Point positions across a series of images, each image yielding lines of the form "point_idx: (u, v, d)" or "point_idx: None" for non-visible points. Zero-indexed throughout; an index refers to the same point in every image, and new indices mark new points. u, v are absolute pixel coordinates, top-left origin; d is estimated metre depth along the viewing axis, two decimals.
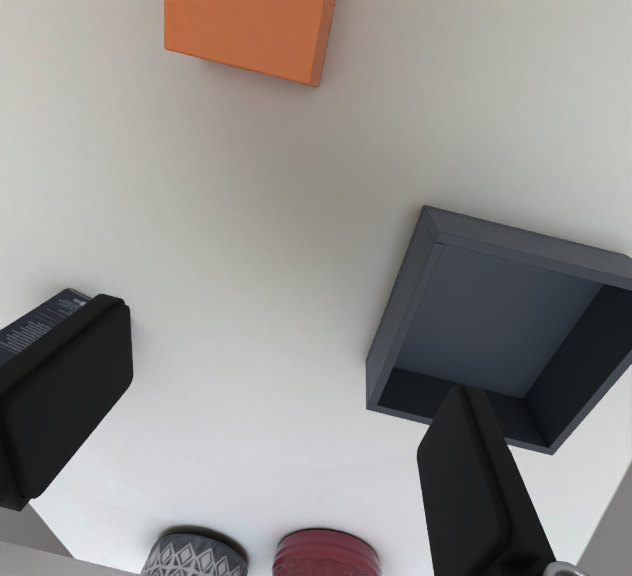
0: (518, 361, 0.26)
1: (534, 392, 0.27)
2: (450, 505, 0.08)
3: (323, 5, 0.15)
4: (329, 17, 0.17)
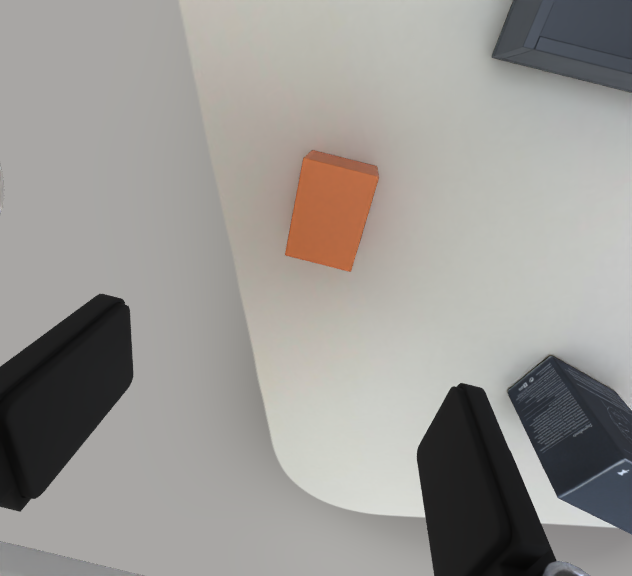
0: None
1: None
2: (450, 505, 0.08)
3: (333, 165, 0.23)
4: (336, 158, 0.25)
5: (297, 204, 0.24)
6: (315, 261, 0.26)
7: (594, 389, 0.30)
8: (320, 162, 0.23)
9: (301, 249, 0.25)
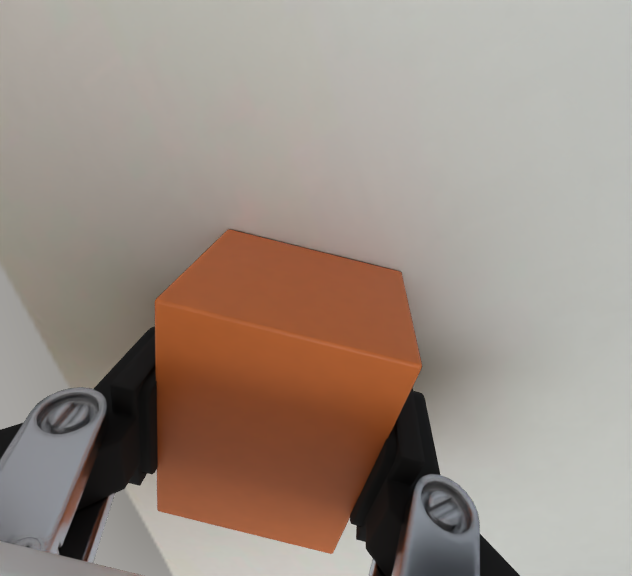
0: None
1: None
2: None
3: (262, 324, 0.06)
4: (288, 262, 0.09)
5: (163, 417, 0.08)
6: (238, 529, 0.10)
7: None
8: (215, 315, 0.06)
9: (197, 505, 0.09)
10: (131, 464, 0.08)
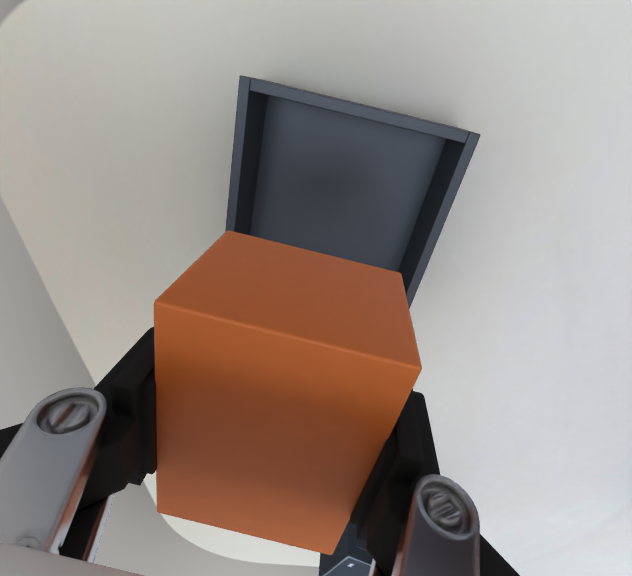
0: (389, 155, 0.24)
1: None
2: None
3: (261, 326, 0.06)
4: (287, 263, 0.09)
5: (163, 418, 0.08)
6: (238, 530, 0.10)
7: None
8: (214, 317, 0.06)
9: (196, 507, 0.09)
10: (131, 464, 0.08)
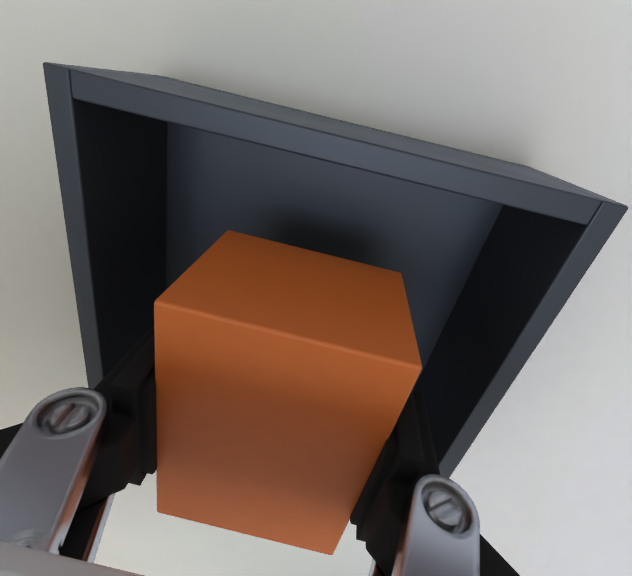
0: (399, 216, 0.13)
1: None
2: None
3: (261, 325, 0.06)
4: (287, 263, 0.09)
5: (163, 418, 0.08)
6: (238, 530, 0.10)
7: None
8: (214, 317, 0.06)
9: (196, 507, 0.09)
10: (130, 464, 0.08)
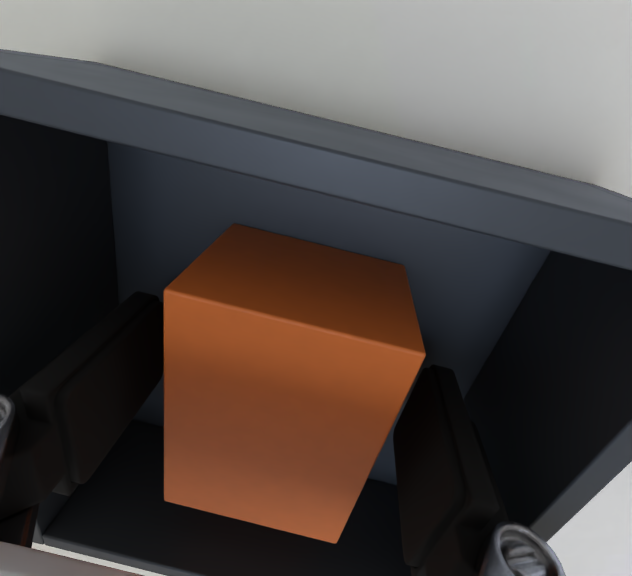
0: (417, 249, 0.10)
1: None
2: (417, 477, 0.08)
3: (268, 313, 0.07)
4: (292, 255, 0.09)
5: (171, 406, 0.08)
6: (244, 519, 0.10)
7: None
8: (222, 305, 0.06)
9: (203, 495, 0.09)
10: (51, 474, 0.07)
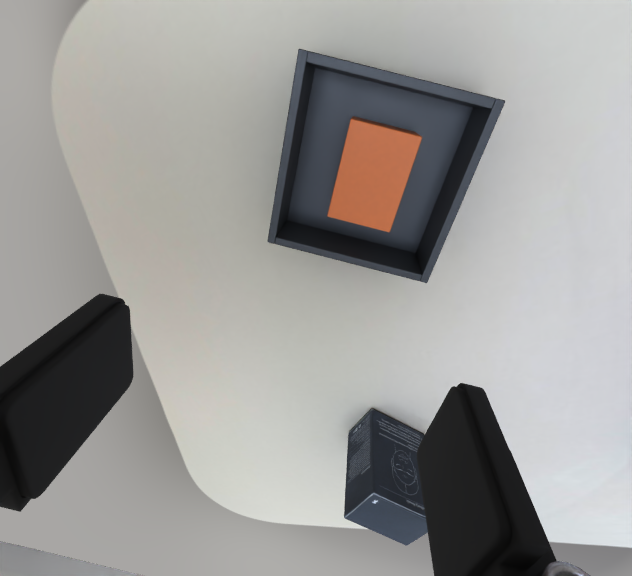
0: (420, 125, 0.27)
1: (457, 103, 0.25)
2: (450, 505, 0.08)
3: (379, 126, 0.24)
4: (377, 123, 0.26)
5: (342, 165, 0.25)
6: (356, 222, 0.27)
7: (396, 436, 0.40)
8: (366, 123, 0.24)
9: (343, 210, 0.27)
10: None
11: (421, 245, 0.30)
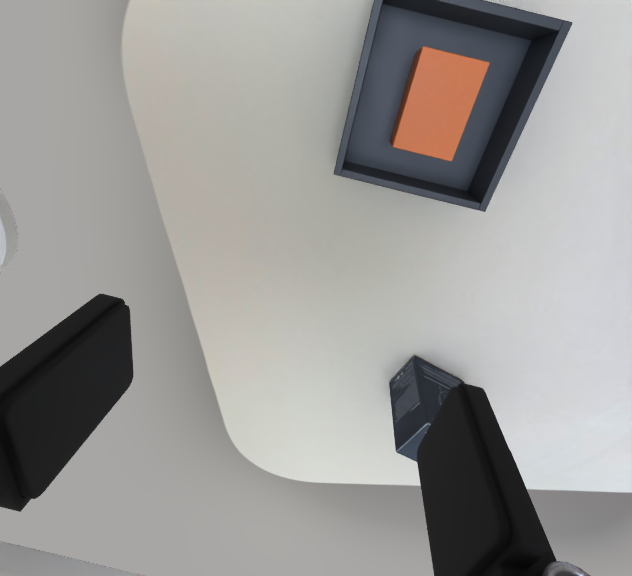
0: (479, 59, 0.29)
1: (517, 35, 0.27)
2: (450, 505, 0.08)
3: (449, 52, 0.25)
4: None
5: (411, 93, 0.27)
6: (420, 152, 0.29)
7: (439, 379, 0.42)
8: (438, 50, 0.25)
9: (408, 140, 0.28)
10: None
11: (475, 181, 0.32)
